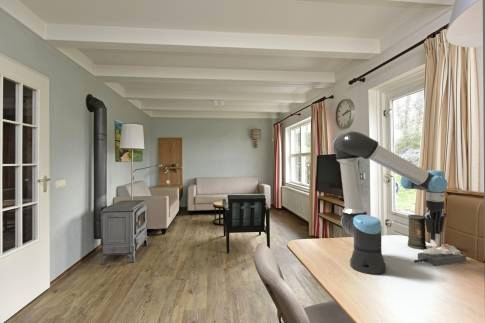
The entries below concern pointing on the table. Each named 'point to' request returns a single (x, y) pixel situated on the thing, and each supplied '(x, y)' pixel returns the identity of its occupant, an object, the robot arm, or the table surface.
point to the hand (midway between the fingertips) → (434, 245)
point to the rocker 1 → (432, 251)
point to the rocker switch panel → (440, 258)
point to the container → (416, 232)
